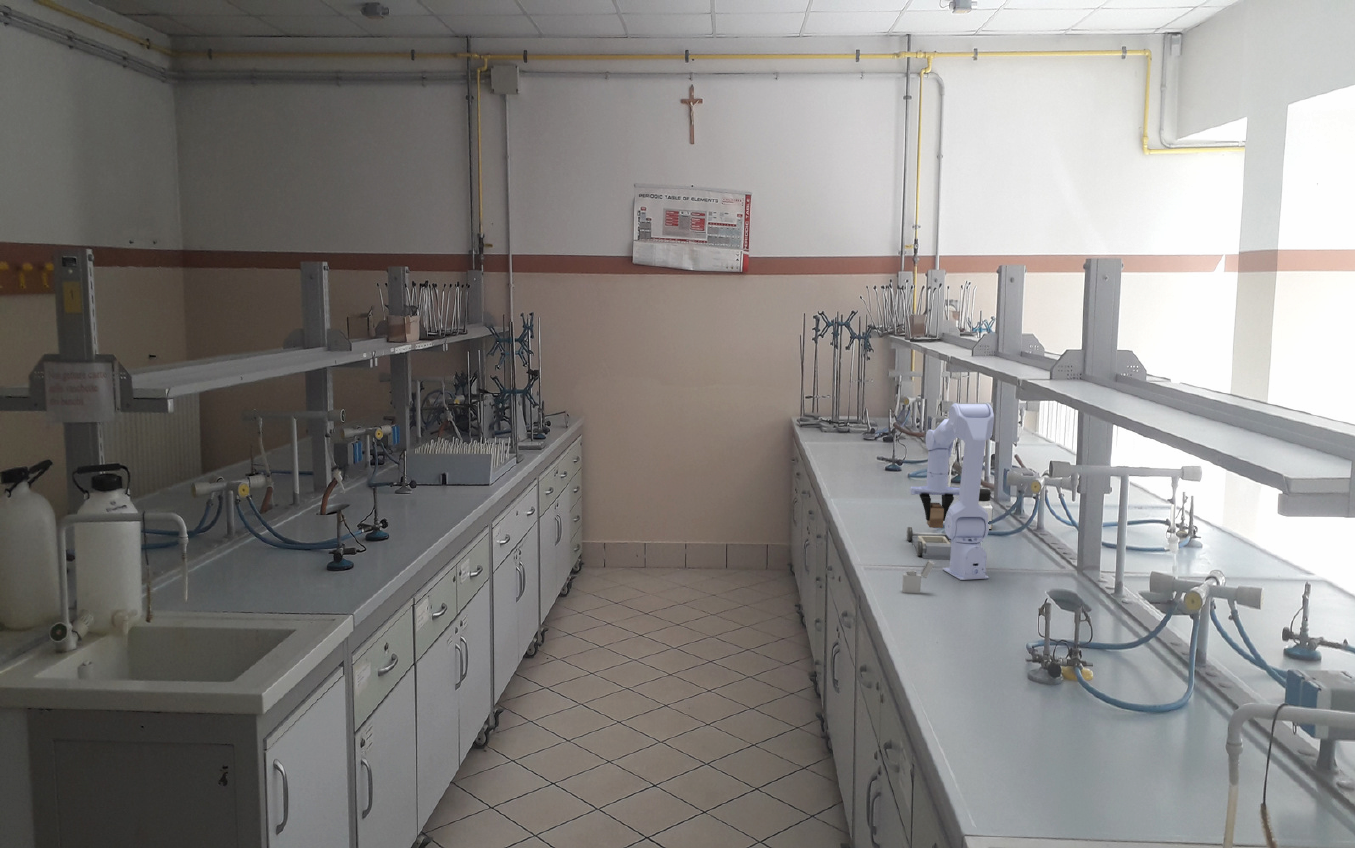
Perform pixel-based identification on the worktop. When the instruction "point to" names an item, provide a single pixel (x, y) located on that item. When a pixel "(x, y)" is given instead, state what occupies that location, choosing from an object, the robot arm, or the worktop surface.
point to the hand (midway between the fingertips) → (935, 519)
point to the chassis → (930, 544)
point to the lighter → (915, 579)
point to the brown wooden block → (936, 515)
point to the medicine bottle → (986, 503)
